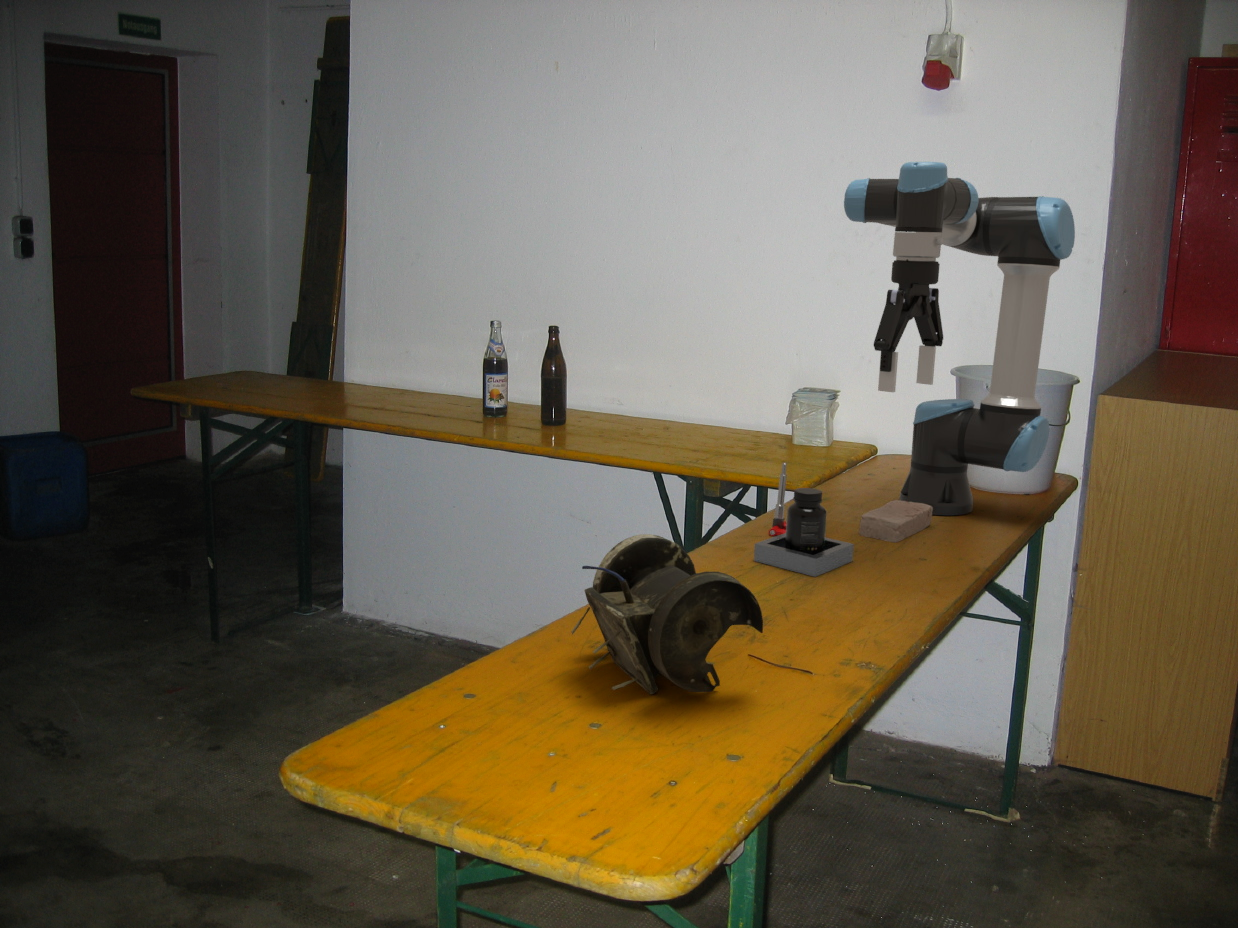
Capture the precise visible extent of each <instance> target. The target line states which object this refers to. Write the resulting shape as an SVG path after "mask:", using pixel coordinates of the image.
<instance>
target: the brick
mask: <svg viewBox="0 0 1238 928" xmlns="http://www.w3.org/2000/svg"><path fill="white" fill-rule="evenodd" d="M932 511H933V507H932V506H930V505H927V504H923V503H914V502H906V501H899V499H894V500H891V501H888V502H887V503H885V504H884V505H882V506H880V507H877V508H874V509H872V510H869V511H867V512H865V513H863V514H861V519H860V524H859V526H860V528H859V531H858V532H859V533H858V534H859V535H860V536H863V537H867V538H871V539H872V538H873V539H877V540H881V541H885V542H888V543H899V542H902V541H903V540H905V539H906V538H909V537H911V536H912V535H915V534H917V533H918V532H921V531H923V530H925V529H926V528H927V527H929V526H930V525H931V522H932V516H933V514H932Z"/></svg>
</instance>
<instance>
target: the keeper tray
mask: <svg viewBox="0 0 1238 928" xmlns="http://www.w3.org/2000/svg"><path fill="white" fill-rule="evenodd" d="M785 539H786V533H784V534H781V535H775V536H771V537H770V538H767V539H763V540H761V541H758V542H756V543H754V550H753V551H754V553H753V554H754V556H753V562H755V563H760V564H765V565H768V566H772V567H775V568H779V569H784V570H787V571H792V572H796V573H799V574H803V575H807V576H811V577H818V576H821V575H824V574H825V573H828V572H830V571H833V570H835V569H838V568H840V567H842V566H844V565H847V564H850V563H851V562H853V560H854V559H853V557H854V545H855V544H854V543H850V542H846V541H842V540H838V539H833V538H829V537H825V546H824V551H823V552H820V553H817V554H815V555H811V554H807V553H803V552H799V551H795V550H791V549H786V548H785Z"/></svg>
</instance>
